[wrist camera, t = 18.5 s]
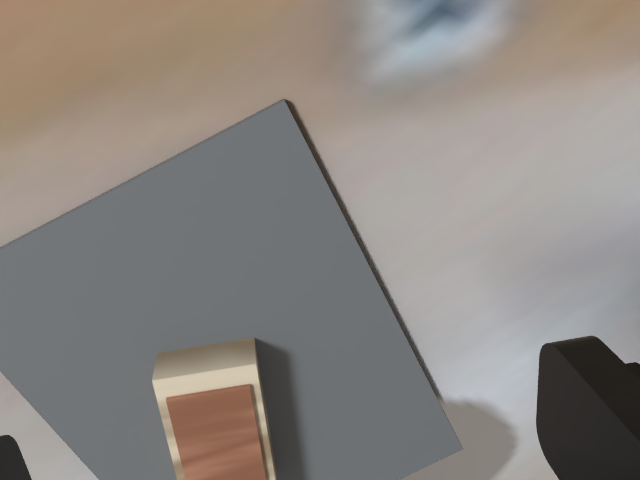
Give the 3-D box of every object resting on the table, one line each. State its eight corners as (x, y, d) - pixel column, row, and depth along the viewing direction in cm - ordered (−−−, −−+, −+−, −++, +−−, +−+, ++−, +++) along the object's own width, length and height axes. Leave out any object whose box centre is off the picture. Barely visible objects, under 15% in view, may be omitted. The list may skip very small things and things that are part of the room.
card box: (280, 508, 42) (256, 366, 38) (187, 525, 42) (151, 383, 37) (276, 473, 45) (254, 337, 41) (190, 489, 45) (157, 353, 40)
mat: (283, 98, 35) (284, 100, 35) (460, 443, 48) (463, 449, 47) (-71, 284, 37) (-75, 289, 36) (190, 572, 49) (189, 579, 48)
